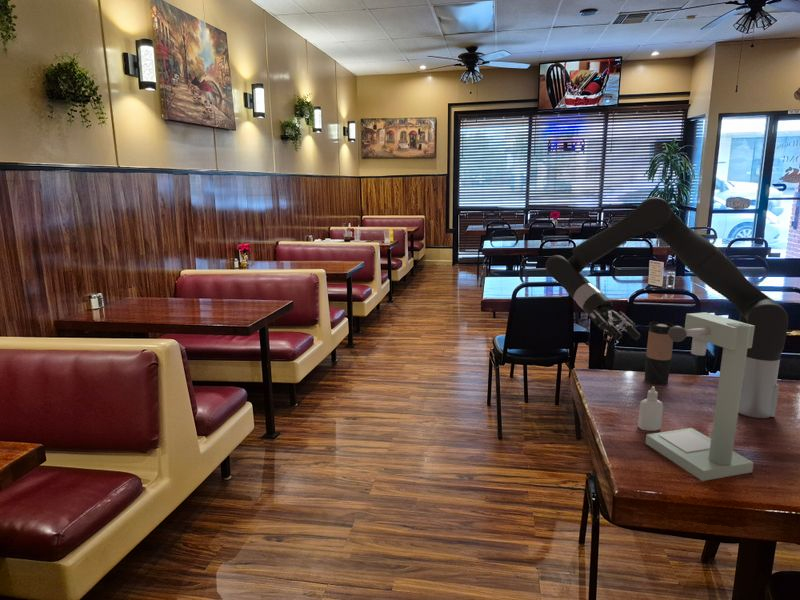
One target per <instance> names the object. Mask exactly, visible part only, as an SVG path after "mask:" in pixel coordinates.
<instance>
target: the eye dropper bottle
mask: <svg viewBox="0 0 800 600" xmlns="http://www.w3.org/2000/svg"><path fill="white" fill-rule="evenodd" d="M658 395H659V392H658V391H656V388H655V386H651V388H650V389H649V390H647V395H646V398H645V399H643V400H641V401H640V402H639V410H638V418H637V419H638V420H637V427H639V429H640V430H642V431H647V432H648V431H650V432H651V431H652V432H654V431H659V430H661V429H662V418H663V411H664V403H663V402H662V401H661V400H659V399H658Z"/></svg>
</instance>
